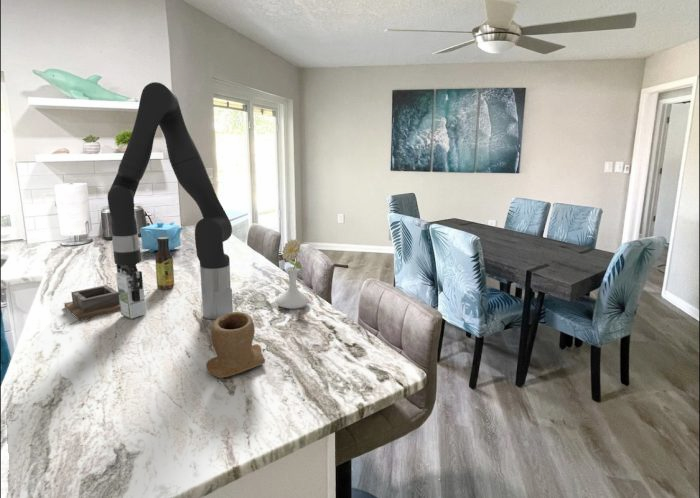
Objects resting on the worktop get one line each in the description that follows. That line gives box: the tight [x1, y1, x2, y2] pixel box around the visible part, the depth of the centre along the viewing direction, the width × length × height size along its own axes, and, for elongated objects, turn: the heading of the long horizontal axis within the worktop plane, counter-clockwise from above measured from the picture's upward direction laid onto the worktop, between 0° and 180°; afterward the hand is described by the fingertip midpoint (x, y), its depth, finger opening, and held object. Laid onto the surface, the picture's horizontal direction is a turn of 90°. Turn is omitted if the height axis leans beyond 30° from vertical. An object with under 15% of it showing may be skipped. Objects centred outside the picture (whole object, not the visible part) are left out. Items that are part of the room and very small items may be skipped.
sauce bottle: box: [155, 237, 175, 291], centre depth 166 cm, size 6×6×20 cm
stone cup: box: [205, 311, 266, 379], centre depth 109 cm, size 15×12×15 cm
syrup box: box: [115, 272, 147, 320], centre depth 140 cm, size 6×6×14 cm
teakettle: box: [139, 221, 186, 253], centre depth 221 cm, size 19×19×15 cm
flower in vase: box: [276, 238, 310, 310], centre depth 151 cm, size 13×11×25 cm
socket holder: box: [64, 284, 121, 321], centre depth 147 cm, size 15×15×6 cm
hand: (131, 298), depth 140 cm, fingers closed on syrup box, 6 cm apart
